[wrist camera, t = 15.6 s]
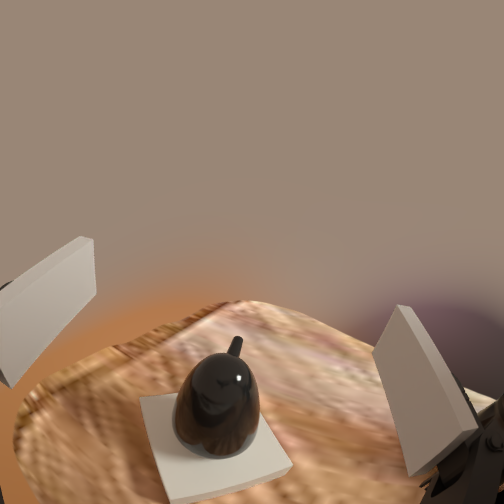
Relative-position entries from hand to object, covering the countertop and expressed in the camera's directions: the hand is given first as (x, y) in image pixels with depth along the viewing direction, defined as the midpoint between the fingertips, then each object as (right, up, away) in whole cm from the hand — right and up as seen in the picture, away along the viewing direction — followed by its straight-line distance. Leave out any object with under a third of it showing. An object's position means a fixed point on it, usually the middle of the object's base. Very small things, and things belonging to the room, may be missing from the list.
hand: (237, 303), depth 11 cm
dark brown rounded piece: (-5, -22, +20) cm, 30 cm away
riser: (-5, -25, +21) cm, 33 cm away
